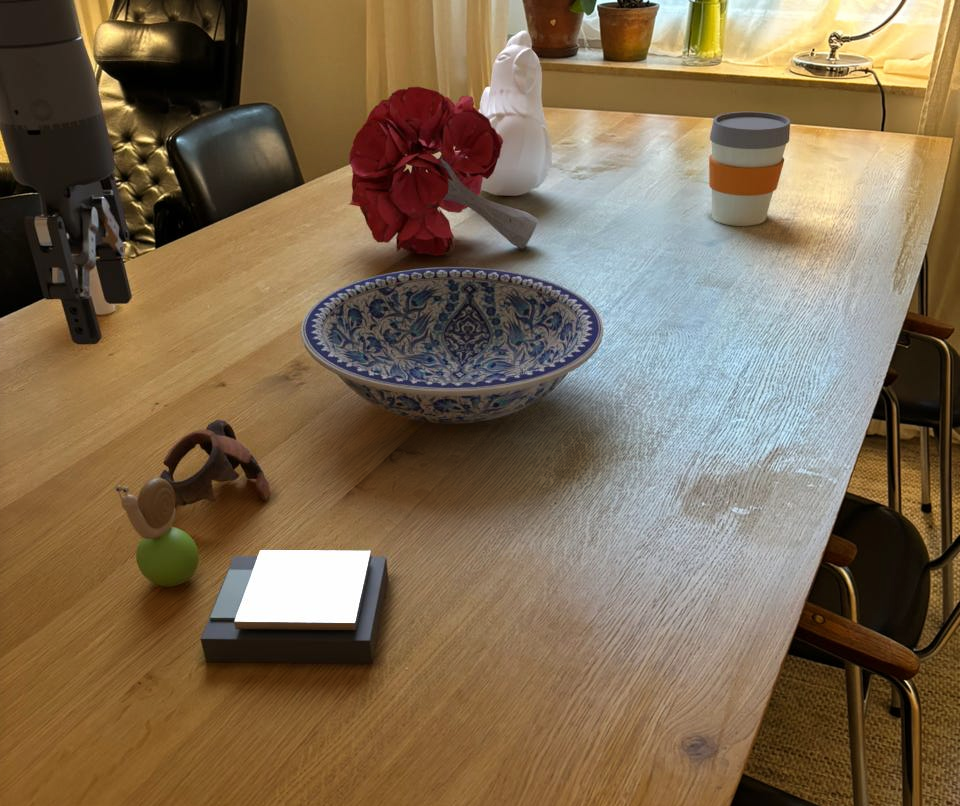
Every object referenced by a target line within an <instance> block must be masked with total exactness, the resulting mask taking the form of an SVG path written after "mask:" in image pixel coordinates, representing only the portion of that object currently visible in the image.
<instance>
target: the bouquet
mask: <svg viewBox="0 0 960 806" xmlns="http://www.w3.org/2000/svg"><path fill="white" fill-rule="evenodd" d="M474 105H475V102H474V98H473V96H470V95H461V97H460V98H458V100H457V102H456V103H454V102H453V101H452V100H451V99H450V98H449V97H447V96H444V95H443V94H442V93H440V92H439V91H437V90H434V89H428V88H425V87H421V86H409V87H408V88H407V89H406V88H402V89H397V90H395V91H394V92H392V93H391V95H390V96H389V97H388V99H382V100H381V101H380V102H379V103H378V104H377V105H375V106H374V108H372V110H371V111H370V112H369V114H368V116H367V119H366V122H365V123H364V124H363V125H362V126H361V128H360V129H359V130H358V132H356V134H355V136H354V139H353V142H352V146H351V149H350V151H349V165H350V167H351V170H352V178H351V188H352V193H351V200H350V202H349V203H348V205H350V206H353V207H354V206H355V207H359V210H360V211H361V213H362V215H363V216H364V219H365V223H366V225H367V227H368V229H369V230H370V232H371V236H372V239H373V240H375V242H377V243H380V244H382V243H385V244H388V243H390V242H391V241H392V239H393V238H394V237H395V236H396V237H395V239H396V241H395V242H396V252H399V251H401V249H402V250H404V251H406V252H407V251H408V252H414V253H417V254H425V255H426V254H428V255H431V256H435V257H436V256H442V255H443V256H444V255H445V254H448V253H450V250H451V248H452V249H454V244H455V243H454V242H455V236H454V234H453V232H452V229H451V228H452V227H451V224H450V220H449V218H447V216H446V215H445V214H444V212H443V211H446V212H448V213H458V214H460V213H462V212H463V210H466V209H470V210H472V211H474V212H475V213H477V214H478V215H479V216H480V217H482V218H483V219H484V220H485V221H486V222H487V223H488V224H489V225H491V227H492V228H493V229H494V230H496V231H497V233H499V234H500V235H501V236H502V237H504V238H505V239H506V240H507V241H508V242H509V243H510V244H511V245H513V246H515V247H517V248H519V249H521V250H523V249H525V247H526V246H527V245H528V243H529V241H530V239H531V238H532V236H533V234H534V232H535V230H536V228H537V224H538V222H539V219H538V218H537V217H535V216H534V215H532V214H530V213H529V212H527V211H524V210H520V209H517V208H514V207H511V206H507V205H504V204H501V203H498V202H494V201H492V200H489V199H486V198H483V197H482V196H481V193H482V190H480V189H481V185H482V181H483V177H484V178H486V179H488V178H489V177H490V176H491V175H492V174H493V172H494V169H495V167H496V164H497V160H498V158H499V157H500V151H501V148H502V144H503V140H502V137H501V136H500V135H499V134H497V133H496V130H495V129H494V128H492V127H491V124H490V120H489V119H488V118H487V117H485V116H484V115H483V114H481V113H479V110H477V108H475V107H474ZM438 153H440V156H439V157H437V156H434V155H435V154H438ZM466 157H467V158H466ZM407 166H411V170H410V169H409V168H407ZM441 209H442V210H443V211H442V210H441Z"/></svg>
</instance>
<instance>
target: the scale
mask: <svg viewBox="0 0 960 806" xmlns="http://www.w3.org/2000/svg"><path fill="white" fill-rule="evenodd" d="M257 557H258V555H233V556H232V558H231V562H230V564H229V567H228V569H227V571H226V573H225V576H224V579H223V581H222V584H221V586H220V589H219V591H218V594H217V597H216V599H215V601H214V604H213V607H212V609H211V611H210V614H209V617H208V619H207V622H206V624H205V626H204V629H203V631H202V634H201V637H200V643H201V646H202V650H203V655H204V659H205V662H206V663H265V664H266V663H269V664H270V663H273V664H274V663H275V664H276V663H279V664H353V665H354V664H357V665H358V664H361V665H363V664H365V665H366V664H367V665H368V664H369V665H370V664H371V665H372V664H374V659H375V658H374V657H375V651H376V647H377V646H376V645H377V641H378V637H379V631H380V626H381V622H382V621H381V620H382V615H383V610H384V605H385V600H386V599H385V598H386V595H387V588H388V584H389V572H388V571H389V570H388V561H387V560H388V559H387V556H371V563H370V567H369V572H368V577H367V581H366V586H365V591H364V595H363V600H362V605H361V609H360V614H359V619H358V623H357V628H356V630H276V629H235V624H234V620H235V618H236V615H237V612H238V609H239V607H240V604H241V601H242V598H243V596H244V593H245V590H246V588H247V585H248V582H249V579H250V577H251V574H252V571H253V568H254V566H255V563H256V560H257Z"/></svg>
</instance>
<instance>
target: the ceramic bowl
mask: <svg viewBox="0 0 960 806" xmlns="http://www.w3.org/2000/svg"><path fill="white" fill-rule="evenodd" d="M300 336H301V340H302V343H303V346H304V348H305V350H306V351H307V352H308V354H309V356H311V358H312V359H313V360H315V361H316V362H317V364H319V365H320V366H322V367H323V368H325V369H326V370H328V371H329V372H332V373H333V374H335V375H337V376H338V377H339V379H341V381H342V382H343V383H345V385H346V386H347V387H348V388H350V390H352V391H353V392H355V394H357V395H358V396H359V397H361V398H362V399H364V400H366V401H367V402H369V403H370V404H372V405H374V406H376V407H377V408H380V409H382V410H384V411H386V412H389V413H391V414H394V415H397V416H399V417H402V418H403V417H404V418H407V419H410V420H414V421H420V422H426V423H435V424H469V423H470V424H471V423H478V422H479V423H480V422H483V421H484V422H485V421H490V420H495V419H499V418H503V417H505V416H508V415H511V414H514V413H516V412H518V411H519V412H520V411H521V410H523V409H525V408H528V407H529V406H531V405H533V404H535V403H536V402H538V401H539V400H541V399H542V398H545V396H546V395H548V394H549V393H550V392H551V391H553V390H554V389H555V388H557V386H558V385H559V384H561V383H562V381H563V380H564V379H565V378H566V377H567V375H568V374H569V373H571V372H573V371H574V370H576V369H578V368H579V367H581V366H582V365H584V364H585V363H586V362H587V361H588V360H589V359H591V358H592V357H593V356H594V355H595V353H596V352H597V351H598V350H599V347H600V345H601V344H602V340H603V336H604V325H603V319H602V318H601V316H600V314H599V312H598V311H597V309H596V308H595V307H594V306H593V305H592V304H591V303H590V302H589V301H587V299H586V298H584V297H582V296H581V295H579V294H578V293H576V292H575V291H574V290H573V291H572V290H571V289H569V288H567V287H564V286H563V285H560V284H558V283H555V282H552V281H549V280H546V279H544V278H541V277H537V276H532V275H530V274H529V275H528V274H524V273H518V272H514V271H509V270H503V269H493V268H486V267H485V268H484V267H471V266H469V267H468V266H467V267H465V266H440V267H439V266H438V267H424V268H423V267H422V268H414V269H407V270H399V271H393V272H388V273H383V274H378V275H374V276H371V277H370V276H369V277H368V278H364V279H360V280H357V281H354V282H351V283H349V284H346V285H344V286H341V287H340V288H338V289H336V290H333V291H332V292H329V293H328V294H327V295H325V296H323V297H322V298H321V299H320V300H318V301H317V302H315V304H313V305H312V306H311V308H310V309H309V310H308V311H307V312H306V314H305V316H304V317H303V320H302V323H301V329H300Z"/></svg>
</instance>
